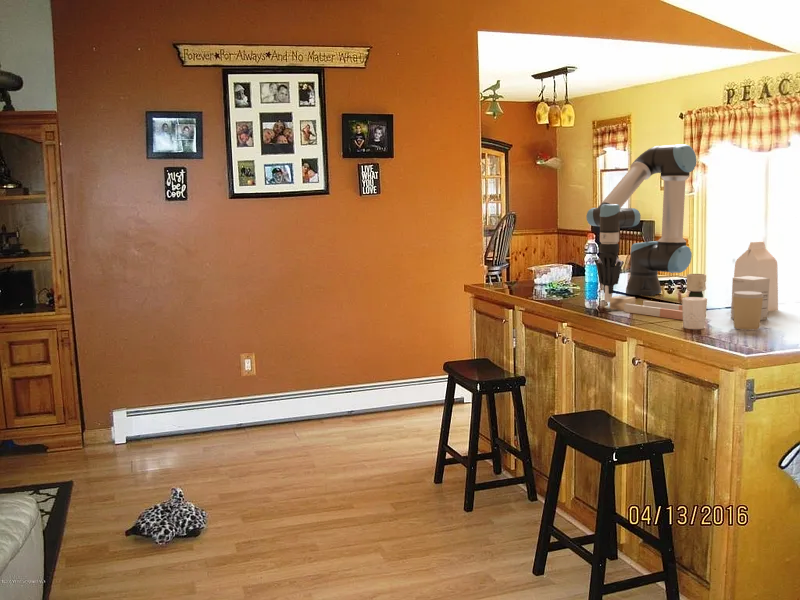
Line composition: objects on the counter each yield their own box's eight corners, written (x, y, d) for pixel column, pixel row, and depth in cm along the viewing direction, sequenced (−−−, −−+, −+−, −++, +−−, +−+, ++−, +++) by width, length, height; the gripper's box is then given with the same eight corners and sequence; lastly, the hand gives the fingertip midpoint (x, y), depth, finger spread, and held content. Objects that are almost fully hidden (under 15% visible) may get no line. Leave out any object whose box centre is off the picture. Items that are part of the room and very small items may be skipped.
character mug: (710, 309, 300) (712, 275, 298) (693, 309, 300) (694, 276, 298) (697, 304, 311) (698, 272, 309) (680, 305, 310) (681, 273, 308)
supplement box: (729, 318, 279) (731, 277, 277) (746, 316, 283) (747, 275, 281) (752, 322, 271) (753, 279, 269) (768, 319, 275) (770, 277, 273)
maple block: (609, 308, 307) (610, 297, 307) (619, 306, 312) (619, 295, 311) (625, 310, 302) (625, 299, 301) (635, 308, 307) (635, 297, 306)
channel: (624, 311, 298) (624, 303, 298) (645, 308, 306) (645, 300, 305) (683, 320, 278) (683, 311, 277) (704, 315, 285) (705, 307, 285)
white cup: (677, 326, 266) (678, 297, 265) (699, 325, 267) (700, 296, 265) (687, 330, 258) (688, 300, 257) (710, 329, 259) (711, 299, 258)
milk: (756, 312, 289) (759, 243, 286) (730, 309, 299) (733, 241, 296) (778, 310, 295) (781, 241, 291) (752, 306, 305) (754, 240, 301)
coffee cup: (760, 326, 263) (761, 291, 261) (763, 331, 254) (765, 294, 252) (730, 325, 266) (731, 290, 264) (732, 330, 257) (734, 294, 255)
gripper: (590, 242, 312) (589, 300, 315) (616, 244, 302) (615, 304, 305) (602, 241, 316) (601, 298, 320) (628, 243, 306) (627, 302, 309)
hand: (608, 301), depth 312 cm, fingers closed
